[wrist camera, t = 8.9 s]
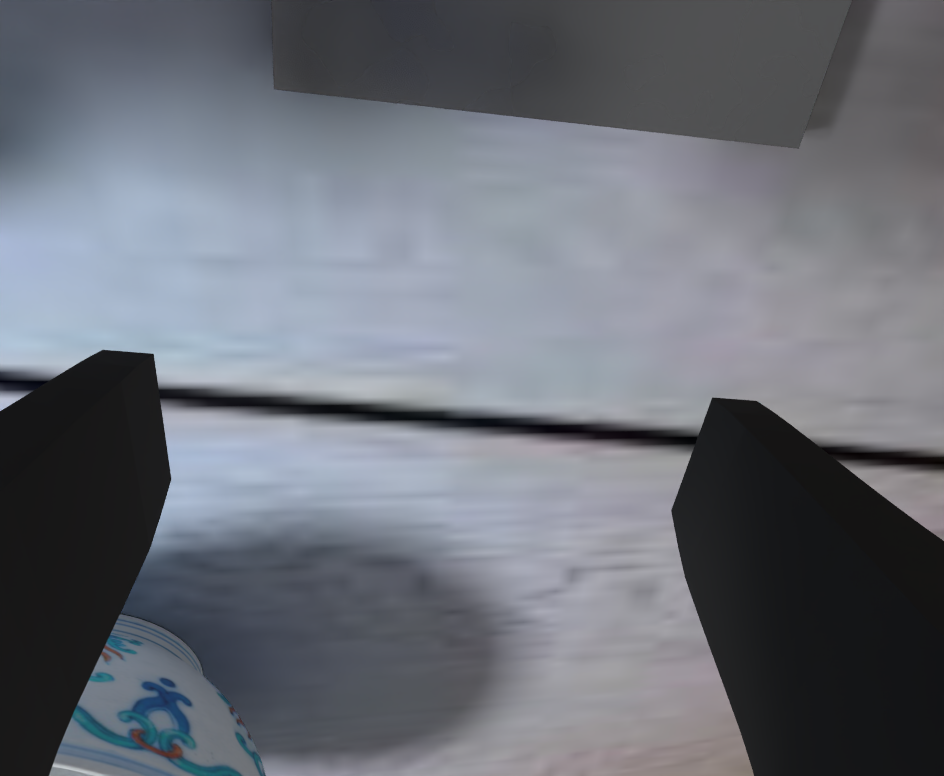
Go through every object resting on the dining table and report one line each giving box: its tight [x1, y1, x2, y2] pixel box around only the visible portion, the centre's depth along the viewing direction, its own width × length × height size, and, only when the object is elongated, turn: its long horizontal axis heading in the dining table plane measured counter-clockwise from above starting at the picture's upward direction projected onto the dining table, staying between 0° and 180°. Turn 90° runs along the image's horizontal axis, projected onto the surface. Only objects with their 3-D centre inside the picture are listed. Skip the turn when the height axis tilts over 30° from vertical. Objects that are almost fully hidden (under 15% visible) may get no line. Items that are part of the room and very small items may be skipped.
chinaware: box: [49, 614, 266, 776], centre depth 26 cm, size 15×15×8 cm
